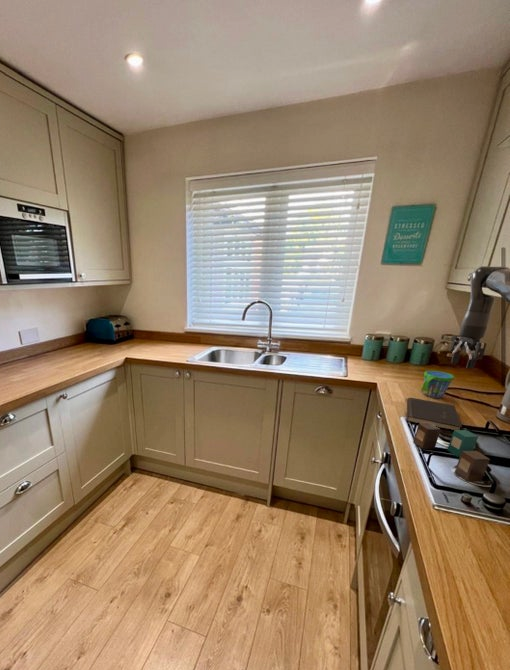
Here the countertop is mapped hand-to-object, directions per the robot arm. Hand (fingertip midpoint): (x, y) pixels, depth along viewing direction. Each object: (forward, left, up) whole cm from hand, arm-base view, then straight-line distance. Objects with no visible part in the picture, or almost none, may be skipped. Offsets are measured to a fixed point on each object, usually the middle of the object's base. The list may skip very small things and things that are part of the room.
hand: (461, 366), depth 129 cm
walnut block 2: (+30, +53, -17) cm, 64 cm away
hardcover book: (+13, +10, -17) cm, 24 cm away
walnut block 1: (+32, +37, -17) cm, 52 cm away
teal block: (+24, +41, -17) cm, 50 cm away
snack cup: (-2, -13, -17) cm, 22 cm away
